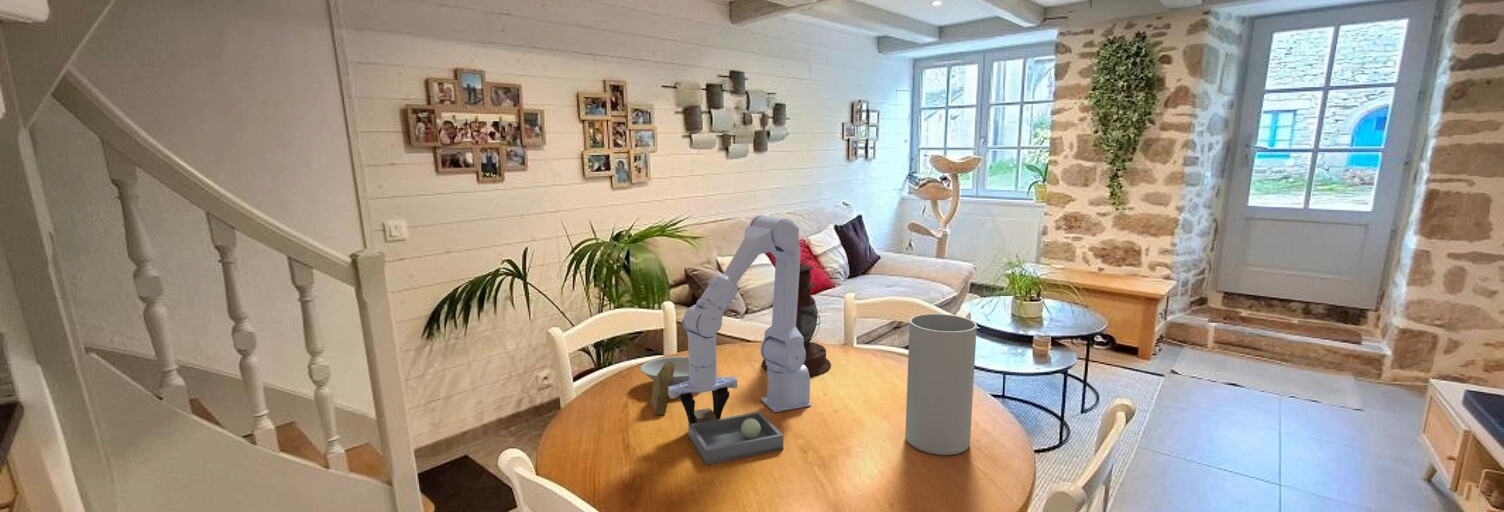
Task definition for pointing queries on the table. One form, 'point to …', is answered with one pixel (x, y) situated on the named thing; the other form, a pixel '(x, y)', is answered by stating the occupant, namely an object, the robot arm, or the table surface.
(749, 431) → the green ball
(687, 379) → the dish
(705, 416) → the walnut cube
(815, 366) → the lantern
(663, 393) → the rock
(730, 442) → the serving tray
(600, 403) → the table surface
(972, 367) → the cylinder vase
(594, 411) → the table surface
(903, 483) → the table surface
